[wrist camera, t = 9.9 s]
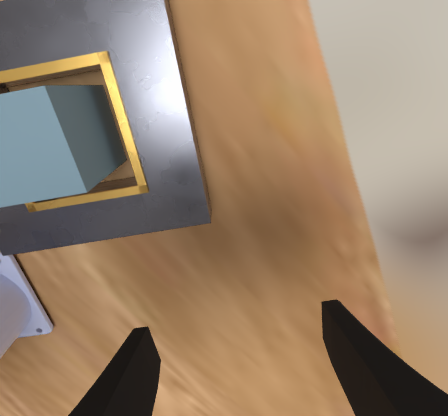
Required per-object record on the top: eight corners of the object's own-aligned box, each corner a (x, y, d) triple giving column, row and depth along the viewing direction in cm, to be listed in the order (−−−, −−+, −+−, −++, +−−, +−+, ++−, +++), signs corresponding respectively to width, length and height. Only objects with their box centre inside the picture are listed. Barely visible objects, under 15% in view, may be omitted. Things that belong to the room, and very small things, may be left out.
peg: (60, 171, 18) (-7, 208, 13) (30, 99, 16) (-64, 106, 11) (126, 159, 18) (87, 192, 13) (103, 85, 16) (44, 85, 11)
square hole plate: (22, 240, 20) (0, 257, 18) (-88, 35, 15) (-135, 27, 13) (211, 209, 20) (210, 224, 18) (164, -17, 14) (156, -34, 12)
